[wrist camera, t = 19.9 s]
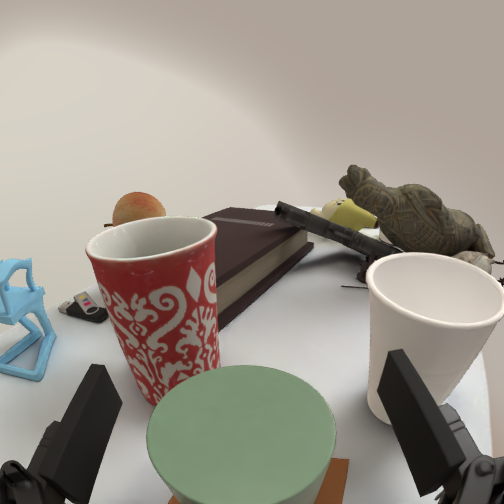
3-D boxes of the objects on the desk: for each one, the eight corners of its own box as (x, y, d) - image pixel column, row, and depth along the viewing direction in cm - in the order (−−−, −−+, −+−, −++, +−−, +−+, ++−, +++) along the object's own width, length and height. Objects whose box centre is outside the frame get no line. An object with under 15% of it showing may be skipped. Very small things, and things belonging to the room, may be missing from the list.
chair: (70, 336, 29) (40, 239, 25) (39, 382, 21) (-9, 272, 17) (27, 332, 29) (-3, 245, 25) (-4, 371, 21) (-48, 274, 17)
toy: (329, 193, 66) (386, 187, 55) (337, 220, 69) (393, 218, 57) (293, 214, 59) (356, 211, 48) (303, 245, 62) (365, 247, 50)
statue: (459, 288, 44) (327, 248, 37) (449, 245, 49) (323, 194, 42) (505, 261, 35) (381, 196, 28) (489, 215, 39) (366, 140, 33)
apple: (170, 253, 32) (100, 250, 29) (160, 260, 40) (103, 257, 36) (173, 185, 33) (106, 180, 30) (162, 203, 40) (108, 200, 37)
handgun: (321, 243, 32) (269, 217, 42) (402, 271, 42) (352, 246, 52) (330, 219, 32) (276, 198, 42) (409, 254, 42) (358, 232, 52)
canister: (317, 478, 14) (344, 376, 10) (292, 563, 8) (317, 529, 5) (221, 459, 16) (194, 352, 12) (181, 533, 10) (111, 463, 7)
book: (224, 234, 62) (222, 206, 60) (313, 247, 52) (314, 215, 50) (112, 289, 40) (103, 252, 38) (215, 333, 30) (209, 283, 28)
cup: (419, 352, 24) (446, 246, 20) (473, 420, 15) (533, 302, 11) (327, 376, 23) (341, 258, 19) (369, 468, 14) (425, 347, 10)
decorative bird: (424, 307, 32) (404, 283, 39) (508, 293, 30) (484, 273, 37) (430, 267, 30) (407, 248, 37) (516, 258, 28) (489, 242, 35)
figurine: (399, 291, 36) (403, 263, 34) (341, 287, 38) (343, 258, 36) (394, 273, 40) (397, 248, 39) (342, 270, 43) (344, 244, 41)
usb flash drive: (97, 316, 31) (100, 323, 32) (121, 295, 36) (123, 302, 36) (56, 307, 33) (58, 313, 34) (79, 289, 38) (81, 295, 38)
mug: (254, 373, 24) (245, 222, 20) (181, 440, 18) (128, 271, 13) (162, 327, 31) (139, 208, 27) (96, 366, 25) (53, 236, 20)
